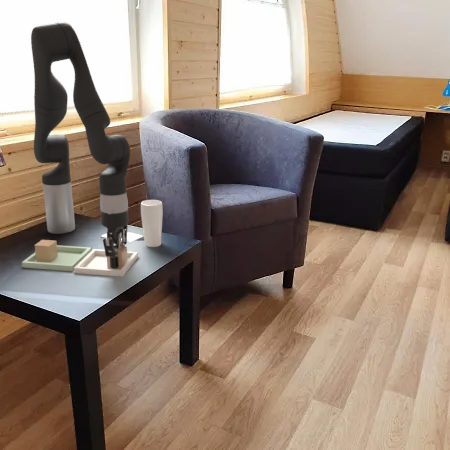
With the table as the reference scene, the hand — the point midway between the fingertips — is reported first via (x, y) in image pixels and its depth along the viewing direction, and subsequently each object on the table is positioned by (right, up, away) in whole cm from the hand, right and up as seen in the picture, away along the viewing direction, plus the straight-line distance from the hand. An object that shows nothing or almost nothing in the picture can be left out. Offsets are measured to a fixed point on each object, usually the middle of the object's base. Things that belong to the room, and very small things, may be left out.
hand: (117, 264), depth 137 cm
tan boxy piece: (-22, +1, +4) cm, 22 cm away
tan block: (0, 0, 0) cm, 0 cm away
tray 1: (-18, 0, +4) cm, 19 cm away
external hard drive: (-4, +6, +24) cm, 25 cm away
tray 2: (-3, -1, +1) cm, 3 cm away
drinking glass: (+8, +4, +17) cm, 19 cm away
